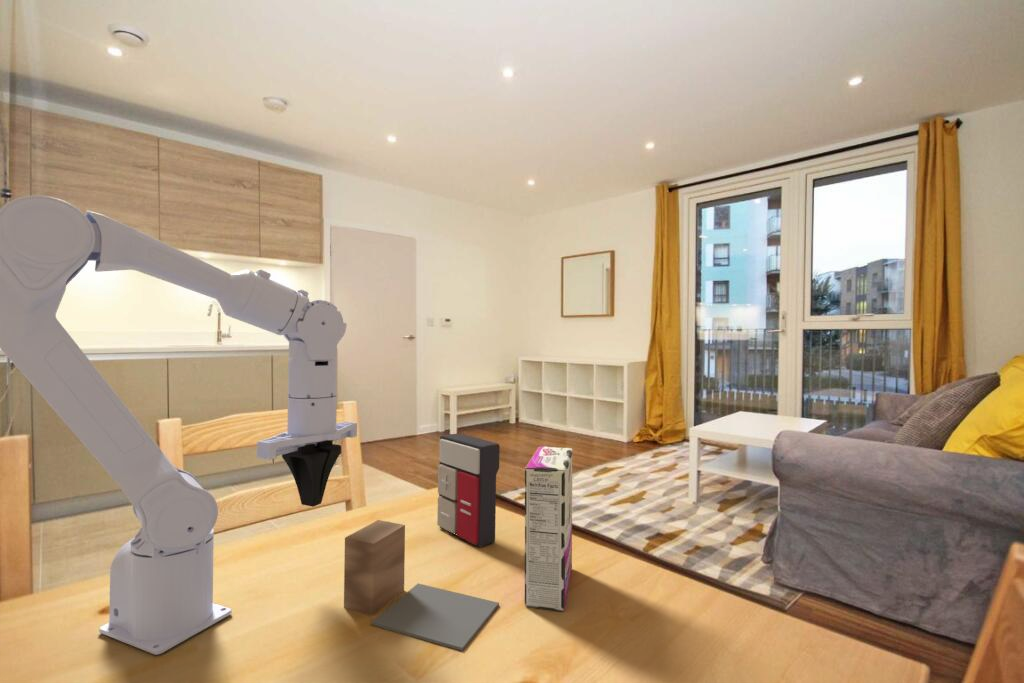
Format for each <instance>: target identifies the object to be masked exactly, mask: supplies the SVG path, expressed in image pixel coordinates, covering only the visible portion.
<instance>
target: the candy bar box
mask: <svg viewBox="0 0 1024 683" xmlns="http://www.w3.org/2000/svg"><path fill="white" fill-rule="evenodd" d="M572 570H573V448H572V447H571V448H570V447H558V446H547V445H545V446H538V447H537V449H536V451H535V452H534V453H533V455H532V456H531V458H530V460H529V461H528V463H527V464H526V466H525V467H524V606H525V607H527V608H532V609H542V610H551V611H558V612H559V611H560V612H564V611H565V608H566V603H567V598H568V593H569V591H568V590H569V587H570V586H569V585H570V580H571V575H572Z"/></svg>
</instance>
